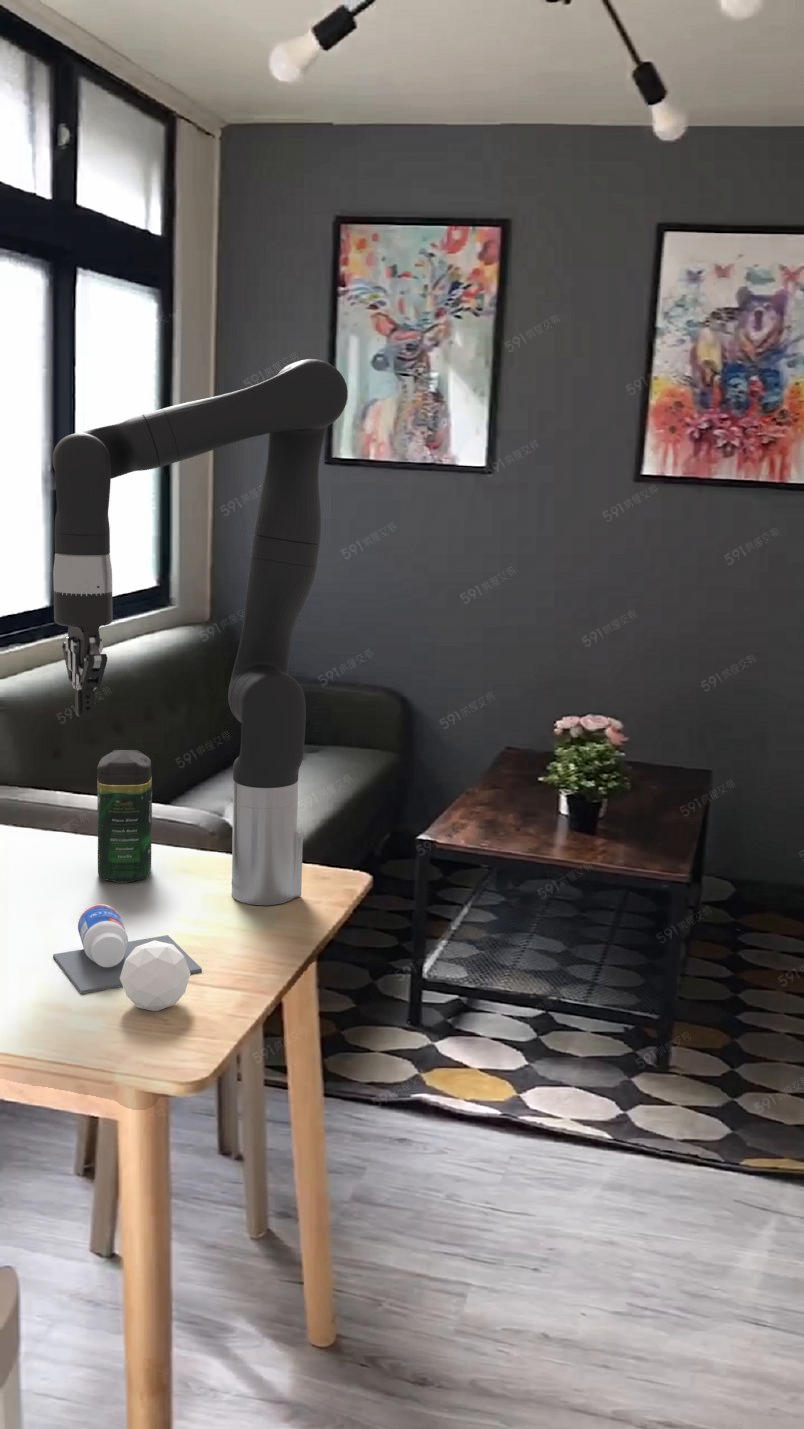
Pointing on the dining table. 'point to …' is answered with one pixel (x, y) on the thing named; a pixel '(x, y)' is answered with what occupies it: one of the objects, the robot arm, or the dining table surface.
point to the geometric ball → (155, 975)
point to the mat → (100, 978)
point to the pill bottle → (103, 935)
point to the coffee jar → (124, 816)
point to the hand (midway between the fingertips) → (85, 716)
